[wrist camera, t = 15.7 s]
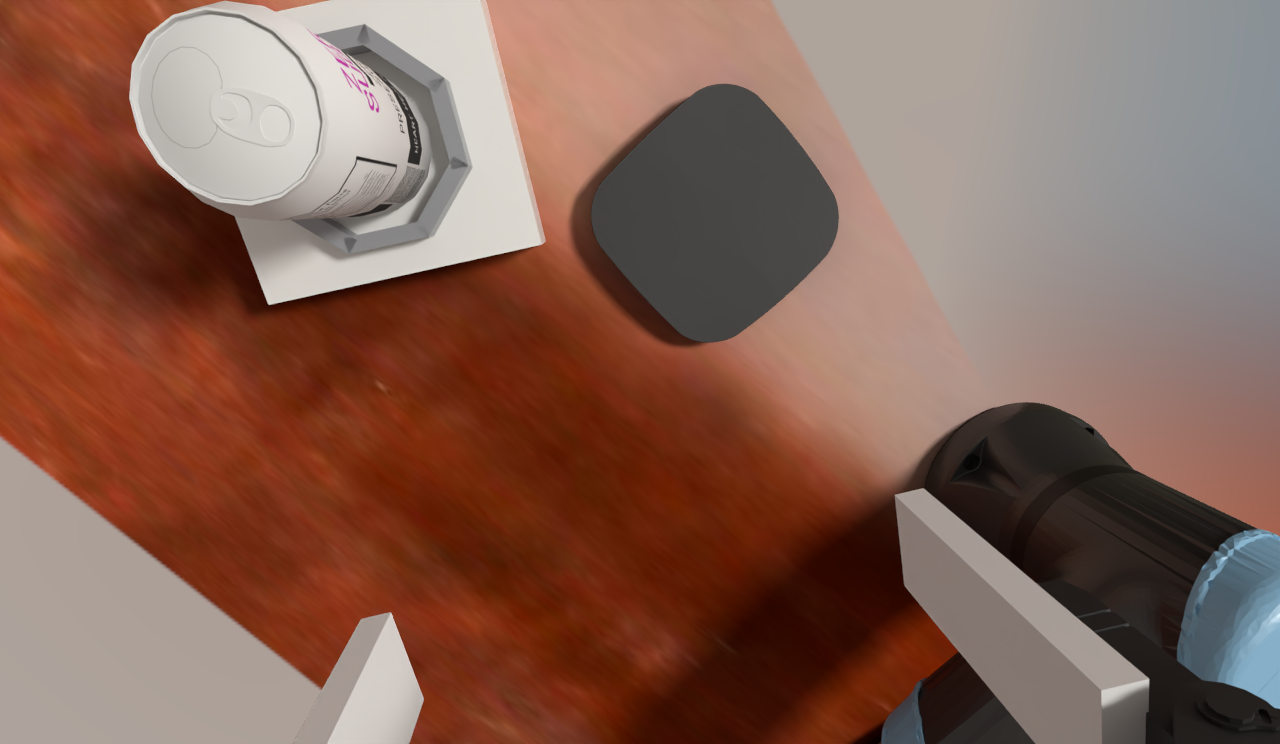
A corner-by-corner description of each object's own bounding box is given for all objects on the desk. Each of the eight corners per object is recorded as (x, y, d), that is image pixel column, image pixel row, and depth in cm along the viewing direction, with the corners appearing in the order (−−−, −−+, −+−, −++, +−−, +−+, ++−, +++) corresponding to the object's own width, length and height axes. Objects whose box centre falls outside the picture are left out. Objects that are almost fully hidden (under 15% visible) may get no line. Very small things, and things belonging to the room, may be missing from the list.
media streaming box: (700, 357, 48) (707, 366, 45) (567, 212, 44) (566, 212, 41) (847, 225, 46) (865, 227, 43) (722, 64, 42) (732, 53, 39)
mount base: (484, -7, 40) (467, -40, 34) (545, 241, 44) (540, 246, 39) (206, 51, 39) (147, 27, 34) (296, 296, 44) (256, 308, 38)
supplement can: (287, 194, 38) (103, 187, 24) (307, 54, 36) (122, -46, 22) (419, 231, 39) (322, 246, 25) (446, 97, 38) (357, 30, 23)
